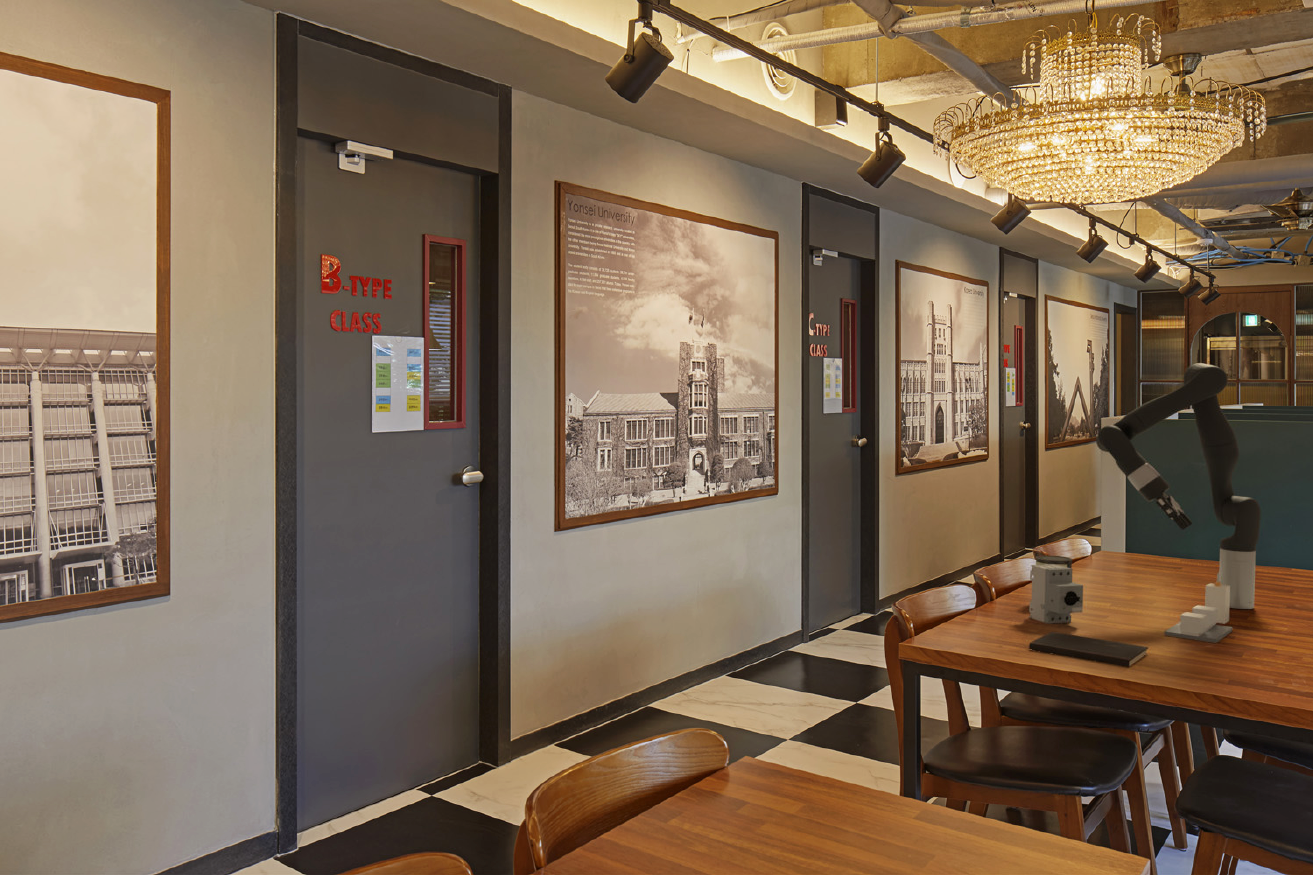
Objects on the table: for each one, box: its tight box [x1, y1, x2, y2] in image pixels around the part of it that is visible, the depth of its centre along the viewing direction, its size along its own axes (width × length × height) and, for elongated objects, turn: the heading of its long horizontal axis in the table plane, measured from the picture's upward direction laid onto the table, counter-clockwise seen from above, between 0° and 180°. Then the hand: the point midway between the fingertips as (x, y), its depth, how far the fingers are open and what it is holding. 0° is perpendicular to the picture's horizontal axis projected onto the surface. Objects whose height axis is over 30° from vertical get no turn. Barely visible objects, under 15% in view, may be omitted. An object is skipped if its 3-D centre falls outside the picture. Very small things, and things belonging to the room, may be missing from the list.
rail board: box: [1164, 604, 1233, 644], centre depth 256 cm, size 18×12×6 cm, turn 138°
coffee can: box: [1035, 555, 1073, 570], centre depth 292 cm, size 10×10×14 cm
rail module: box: [1204, 580, 1230, 625], centre depth 271 cm, size 5×5×11 cm
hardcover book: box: [1028, 631, 1149, 668], centre depth 236 cm, size 16×23×2 cm
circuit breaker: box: [1028, 564, 1084, 625], centre depth 267 cm, size 8×14×15 cm, turn 15°
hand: (1187, 526), depth 277 cm, fingers open, 8 cm apart
